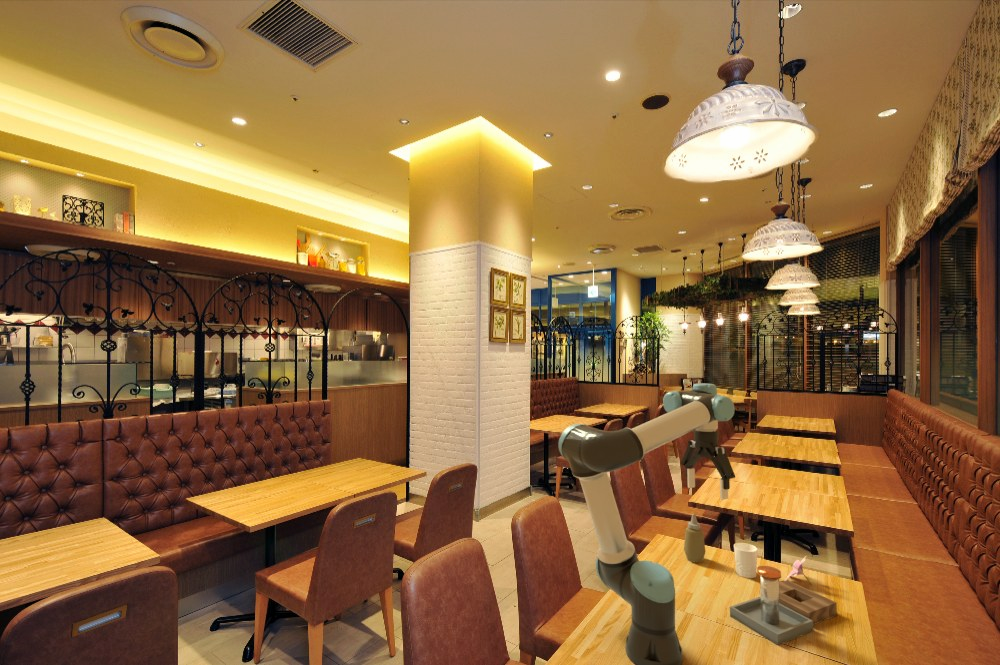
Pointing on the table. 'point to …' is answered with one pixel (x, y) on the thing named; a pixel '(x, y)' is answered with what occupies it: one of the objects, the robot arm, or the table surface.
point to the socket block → (806, 602)
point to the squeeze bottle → (694, 541)
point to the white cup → (745, 559)
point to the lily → (797, 569)
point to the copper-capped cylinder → (769, 594)
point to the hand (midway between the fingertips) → (707, 493)
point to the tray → (778, 634)
